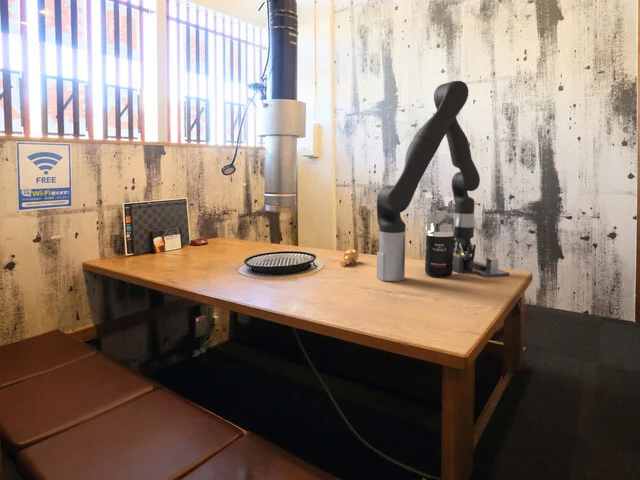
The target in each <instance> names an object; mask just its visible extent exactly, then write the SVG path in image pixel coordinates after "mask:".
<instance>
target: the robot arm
mask: <svg viewBox="0 0 640 480" xmlns="http://www.w3.org/2000/svg"><path fill="white" fill-rule="evenodd" d="M468 99H469V88H468V85H467V84H466V82H464V81H462V80H453V81H450V82H445V83H442V84H440V85H438V86H437V87H436V88H435V90H434V93H433V102H434V105H435V108H436V111H435V113H434V114H433V115H432V116H431V117H430V118H429V119H428V120H427V121H426V122H425V123H424V124H423V125H422V126H421V127H420V128H419V129H418V130H417V132H415V135H414V136H413V137H412V138H413V139H411V141H410V143H409V145H408V148H407V149H406V150H407V151H406V154H405V159H404V166H403V170H402V173H401V175H400V176H399V178H398V179H397V181H396V183H395V184H394V185H385V186H383V187H382V188H380V190H379V191H378V194H377V197H376V217H377V224H378V226H379V228H378V230H379V233H378V234H379V235H378V237H379V238H378V239H379V240H378V251H377V252H376V277H377V278H378V279H379V280H380V281H382V282H384V281H385V282H386V281H387V282H399V281H400V282H401V281H403V280H405V274H406V273H405V271H406V270H405V268H406V266H405V265H406V233H407V231H406V230H407V229H406V228H407V227H406V223H405V222H404V221H403V219H402V215H401V213H402V212H405V211H406V210H407V208H408V207H409V206H410V204H411V202H412V200H413V198H414V196H415V192H416V190H417V188H418V186H419V183H420V182H421V179H422V178H423V176H424V174H425V172H426V170H427V168H428V167H429V164H430V163H431V161H432V160H433V158H434V156H435V154H436V152H437V150H438V148H439V147H440V145H441V143H442V142H443V139H444V138H445V137H446V141H447V144H448V148H449V154H450V159H451V164H452V166H453V167H455V168H457V169H459V171H458V172H456V173H455V174H454V175H453V176H452V179H451V189H452V195H453V199H454V214H453V219H454V222H455V227H454V234H455V235H454V248H453V253H460V252H461V253H462V255H464V268H463V269H464V270H465V271H466V270H469V269H470V260H474V261H475V253H476V244H473V243H472V242H471V241H472V240H471V239H473V238H474V235H475V199H474V198H472V197H471V196H469V193H468V192H474V191H476V190H477V189H478V188H479V187H480V183H481V180H480V179H481V178H480V174H479V170H478V168H477V167H476V165H475V163H474V161H473V159H472V158H473V157H472V153H471V147H470V143H469V140H468V137H467V135H466V134H465V132H464V130H463V129H462V127H461V124H459V122H458V119H457V117H458V114H459V113H460V112H461V110H462V109H463V107H464V106H465V105H466V103H467V100H468ZM471 254H472V256H471ZM466 255H467V257H466Z"/></svg>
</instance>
